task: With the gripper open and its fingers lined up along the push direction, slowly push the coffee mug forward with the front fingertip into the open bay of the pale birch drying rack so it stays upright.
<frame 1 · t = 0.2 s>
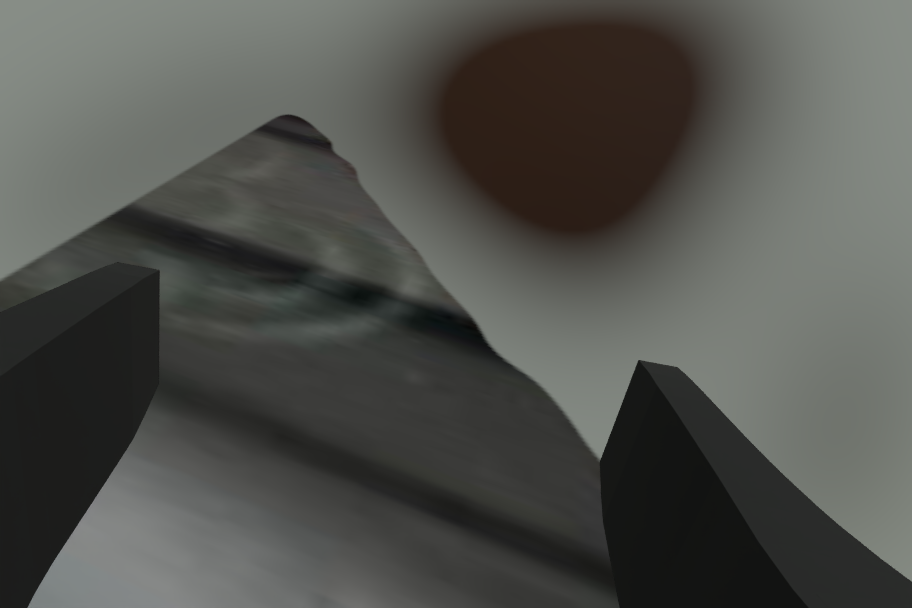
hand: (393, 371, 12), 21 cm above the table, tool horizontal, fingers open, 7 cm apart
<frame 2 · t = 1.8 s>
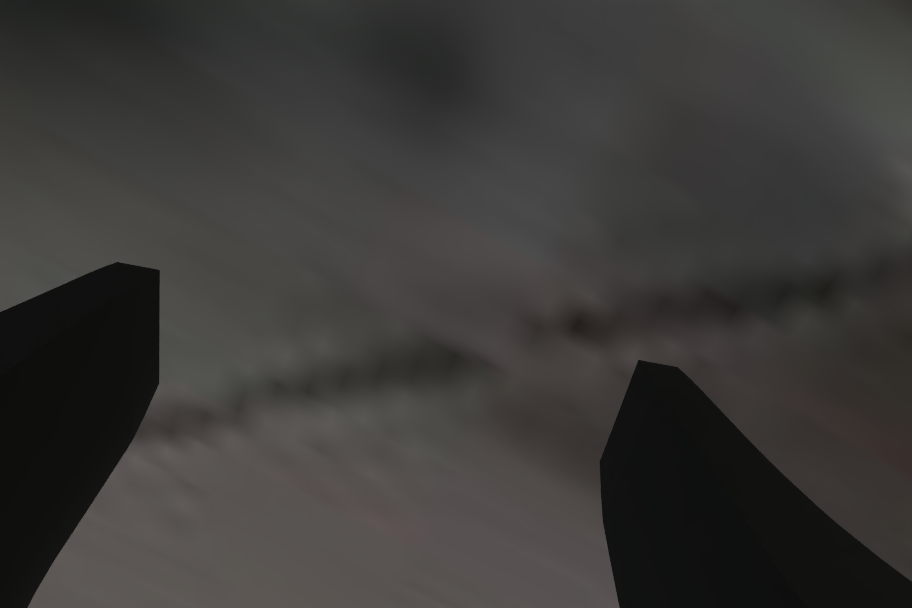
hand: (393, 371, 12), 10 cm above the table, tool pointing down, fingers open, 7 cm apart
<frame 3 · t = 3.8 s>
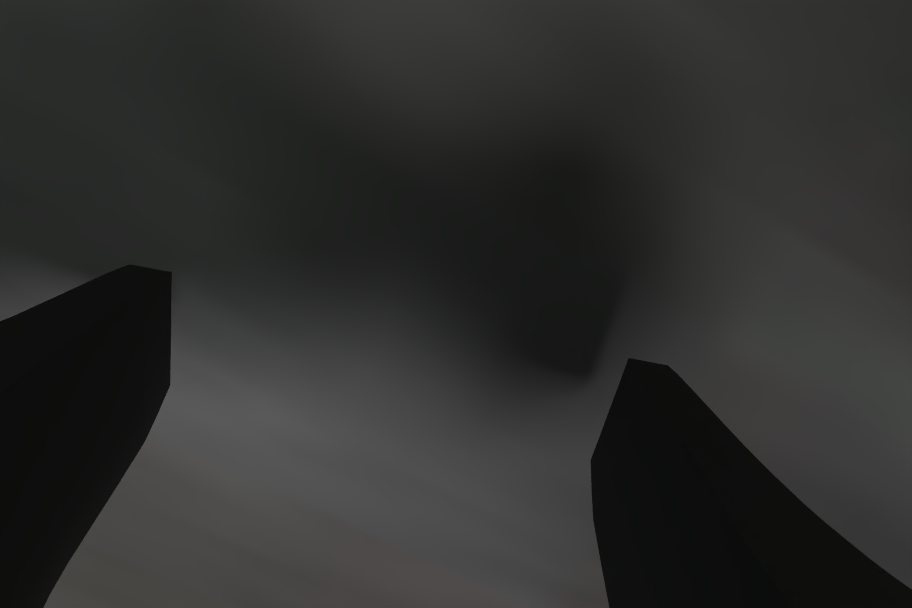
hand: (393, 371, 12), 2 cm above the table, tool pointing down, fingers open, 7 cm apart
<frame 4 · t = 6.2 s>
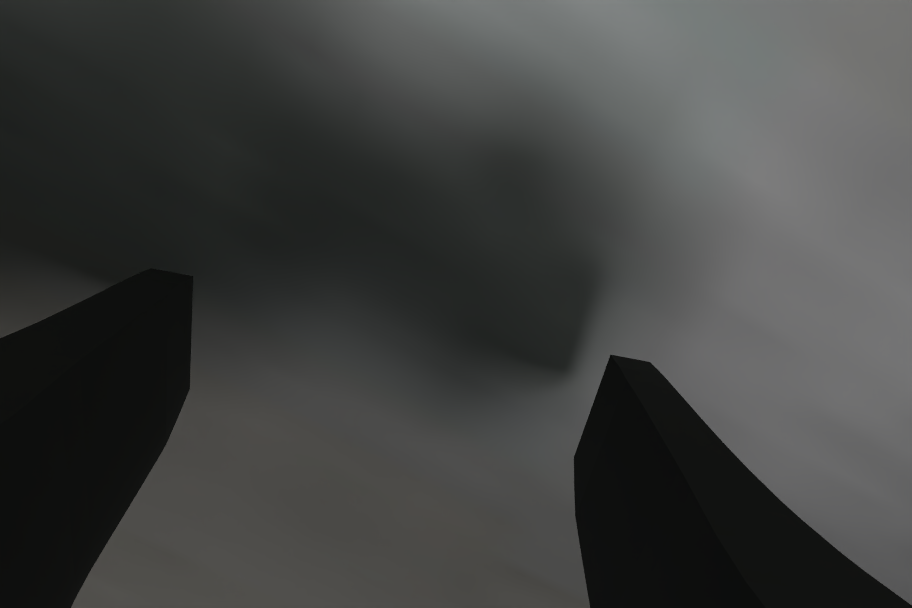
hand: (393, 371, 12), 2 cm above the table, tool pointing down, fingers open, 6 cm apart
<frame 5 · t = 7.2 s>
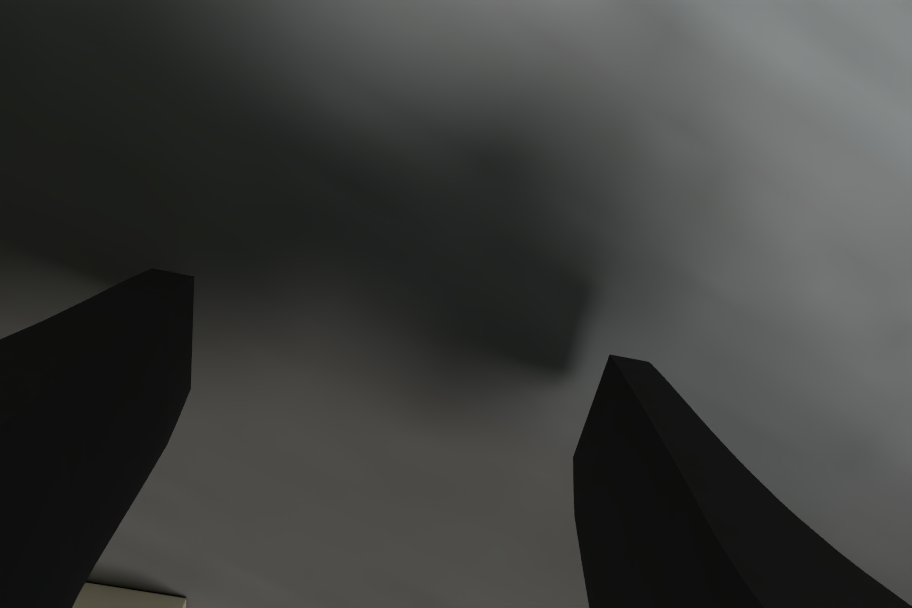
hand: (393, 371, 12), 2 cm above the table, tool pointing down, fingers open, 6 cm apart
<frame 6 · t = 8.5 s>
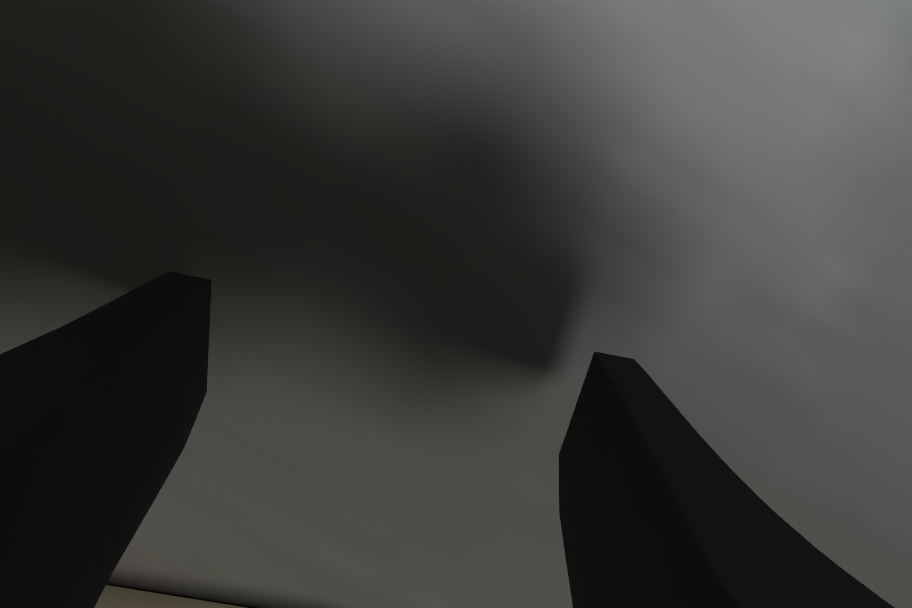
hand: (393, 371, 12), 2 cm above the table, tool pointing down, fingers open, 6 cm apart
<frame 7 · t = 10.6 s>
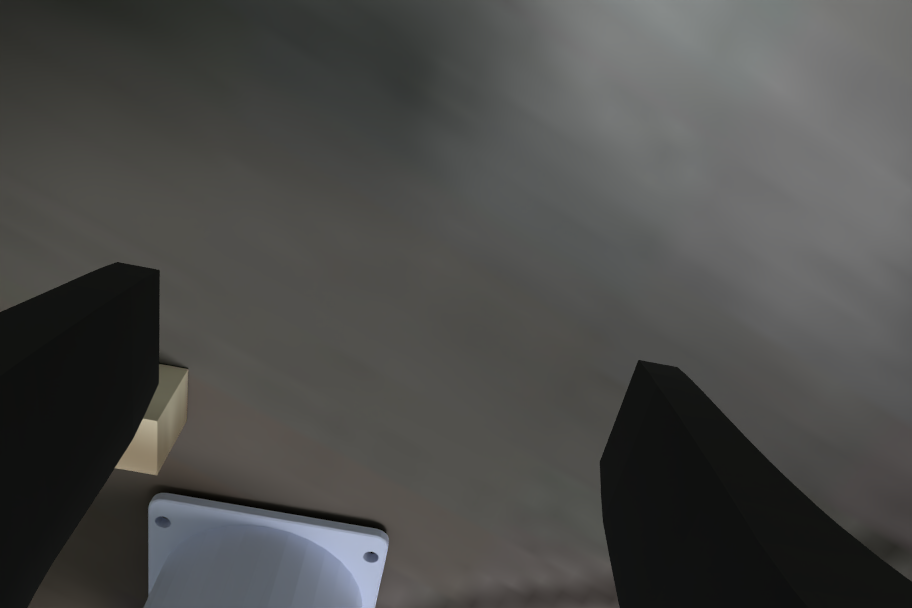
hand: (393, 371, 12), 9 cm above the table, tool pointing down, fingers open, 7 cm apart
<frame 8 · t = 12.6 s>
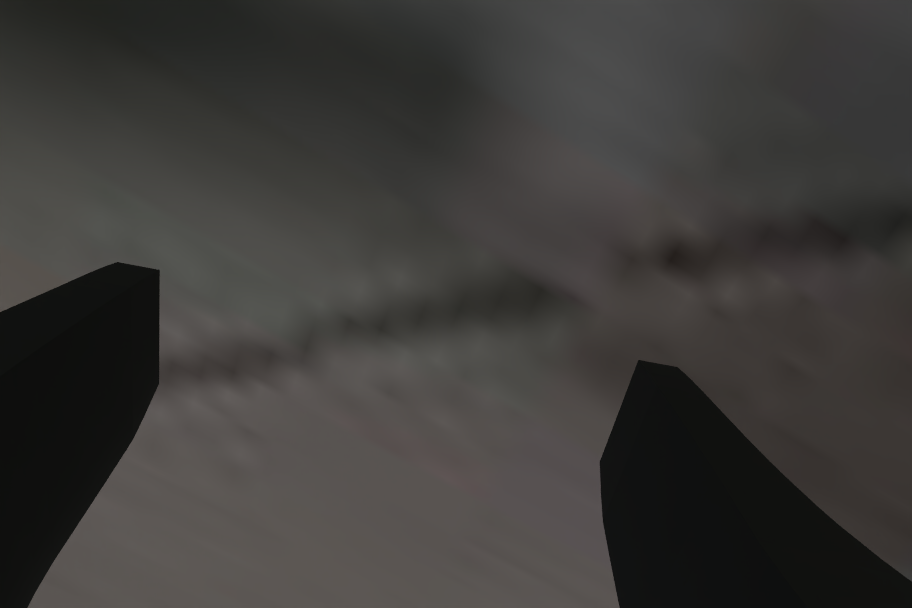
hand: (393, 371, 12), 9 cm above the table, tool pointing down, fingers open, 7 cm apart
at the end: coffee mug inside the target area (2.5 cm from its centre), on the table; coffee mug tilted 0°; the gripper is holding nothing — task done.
